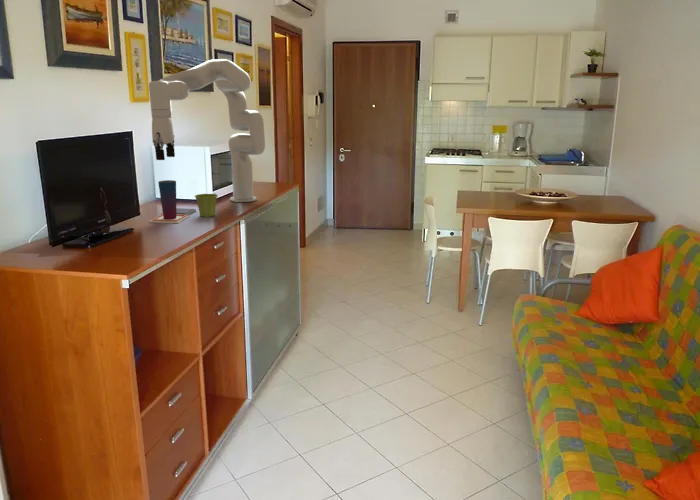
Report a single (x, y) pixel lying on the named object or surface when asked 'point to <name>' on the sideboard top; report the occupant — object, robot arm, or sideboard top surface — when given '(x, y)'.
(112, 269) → the sideboard top surface
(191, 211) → the ink pad
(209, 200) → the plant pot
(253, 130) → the robot arm
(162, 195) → the cup
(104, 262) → the sideboard top surface
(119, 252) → the sideboard top surface
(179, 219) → the cream flat square piece
